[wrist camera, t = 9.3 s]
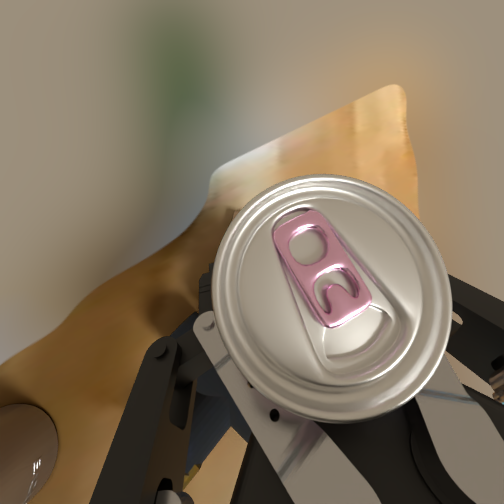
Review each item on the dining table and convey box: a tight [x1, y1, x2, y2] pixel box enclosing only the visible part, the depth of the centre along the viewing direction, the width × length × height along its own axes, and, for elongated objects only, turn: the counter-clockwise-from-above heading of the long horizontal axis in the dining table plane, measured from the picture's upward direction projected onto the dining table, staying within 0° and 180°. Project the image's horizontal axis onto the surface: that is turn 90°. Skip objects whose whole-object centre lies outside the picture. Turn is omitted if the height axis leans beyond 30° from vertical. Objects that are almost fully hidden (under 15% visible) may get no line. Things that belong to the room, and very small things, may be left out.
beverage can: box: [211, 174, 452, 424], centre depth 12 cm, size 6×6×15 cm
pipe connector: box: [170, 312, 252, 490], centre depth 18 cm, size 12×5×15 cm
